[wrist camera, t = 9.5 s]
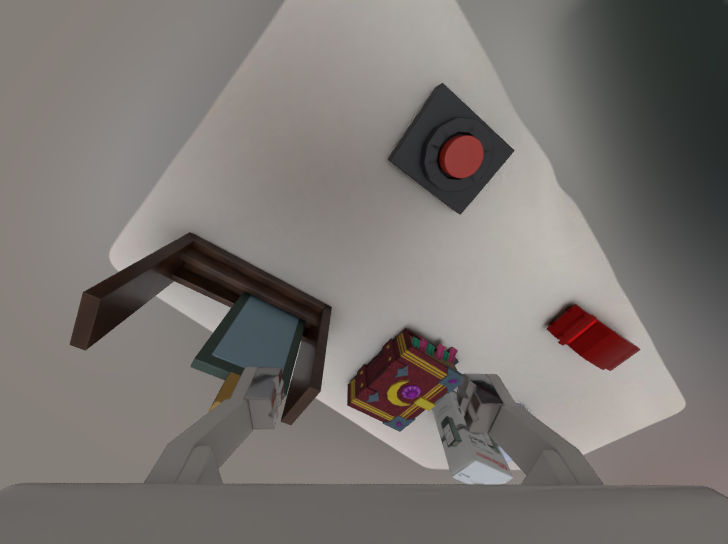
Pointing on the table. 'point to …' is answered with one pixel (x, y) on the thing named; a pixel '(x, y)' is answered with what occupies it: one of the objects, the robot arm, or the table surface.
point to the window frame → (220, 282)
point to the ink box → (468, 447)
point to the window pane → (250, 343)
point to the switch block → (428, 137)
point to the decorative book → (404, 380)
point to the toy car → (592, 338)
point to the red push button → (461, 156)
